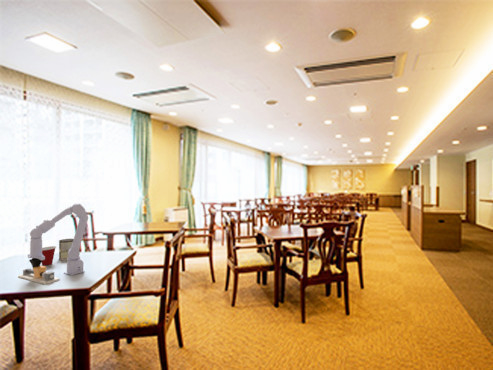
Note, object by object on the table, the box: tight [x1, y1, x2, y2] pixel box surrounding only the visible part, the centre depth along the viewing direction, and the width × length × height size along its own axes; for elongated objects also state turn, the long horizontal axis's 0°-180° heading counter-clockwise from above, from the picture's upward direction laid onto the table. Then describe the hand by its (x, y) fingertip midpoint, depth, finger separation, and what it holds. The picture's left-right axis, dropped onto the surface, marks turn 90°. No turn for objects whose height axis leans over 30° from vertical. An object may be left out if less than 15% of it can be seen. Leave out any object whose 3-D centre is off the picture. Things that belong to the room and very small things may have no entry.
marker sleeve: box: [32, 265, 47, 278], centre depth 164 cm, size 5×4×6 cm
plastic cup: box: [41, 245, 57, 267], centre depth 195 cm, size 11×11×12 cm
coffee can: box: [58, 238, 74, 261], centre depth 212 cm, size 10×10×14 cm
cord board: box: [17, 268, 61, 285], centre depth 165 cm, size 28×8×5 cm, turn 64°
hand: (36, 270), depth 166 cm, fingers closed
